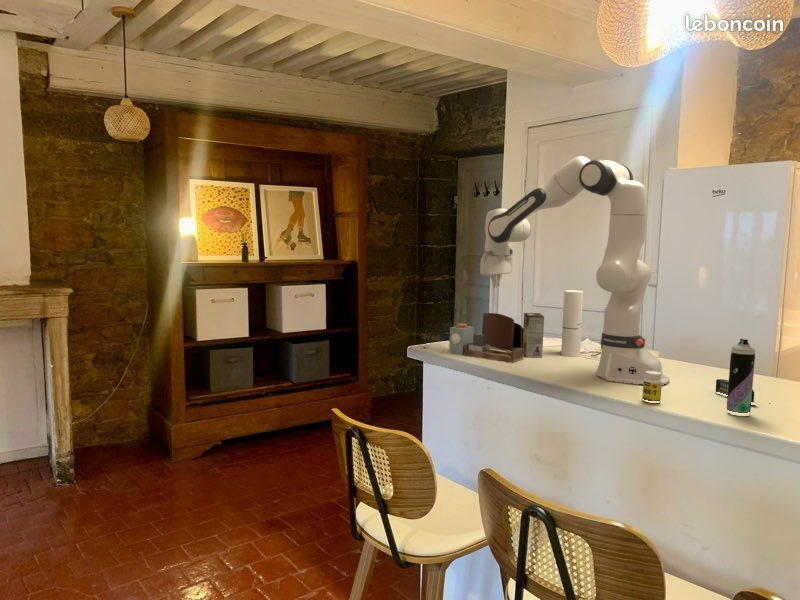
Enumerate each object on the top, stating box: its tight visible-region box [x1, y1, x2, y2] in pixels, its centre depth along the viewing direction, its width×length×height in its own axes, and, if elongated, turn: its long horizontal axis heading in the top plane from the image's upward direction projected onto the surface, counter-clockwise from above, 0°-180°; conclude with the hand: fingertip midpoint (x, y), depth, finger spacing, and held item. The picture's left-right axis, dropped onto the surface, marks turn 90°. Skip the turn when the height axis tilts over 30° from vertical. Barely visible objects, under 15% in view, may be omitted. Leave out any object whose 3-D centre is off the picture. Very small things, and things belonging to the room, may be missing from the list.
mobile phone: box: [715, 378, 755, 403], centre depth 169 cm, size 5×3×15 cm
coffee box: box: [522, 312, 545, 359], centre depth 228 cm, size 9×6×16 cm
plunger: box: [456, 323, 468, 328], centre depth 231 cm, size 4×4×7 cm
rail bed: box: [463, 343, 524, 364], centre depth 223 cm, size 21×8×4 cm, turn 52°
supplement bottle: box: [641, 371, 663, 402], centre depth 165 cm, size 5×5×8 cm
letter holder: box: [481, 312, 523, 352], centre depth 246 cm, size 10×20×14 cm, turn 30°
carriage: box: [468, 333, 491, 353], centre depth 227 cm, size 6×6×7 cm
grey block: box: [448, 325, 475, 356], centre depth 231 cm, size 6×8×10 cm
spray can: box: [726, 338, 756, 413], centre depth 154 cm, size 6×6×20 cm
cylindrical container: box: [560, 289, 584, 358], centre depth 229 cm, size 7×7×25 cm
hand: (496, 286), depth 231 cm, fingers closed
